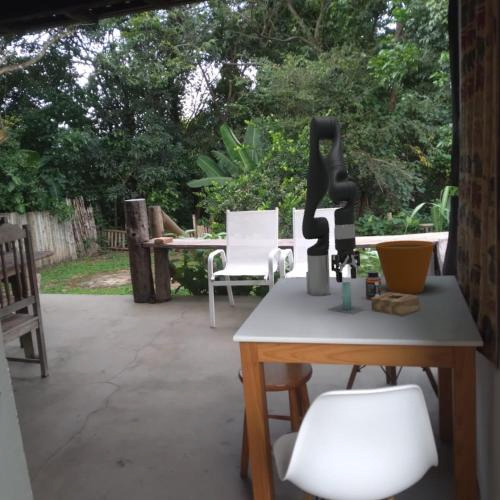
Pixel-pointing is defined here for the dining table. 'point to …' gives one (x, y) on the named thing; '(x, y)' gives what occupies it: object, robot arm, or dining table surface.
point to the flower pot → (405, 264)
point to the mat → (352, 311)
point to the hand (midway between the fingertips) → (346, 280)
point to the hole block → (395, 303)
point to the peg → (346, 295)
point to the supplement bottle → (373, 285)
